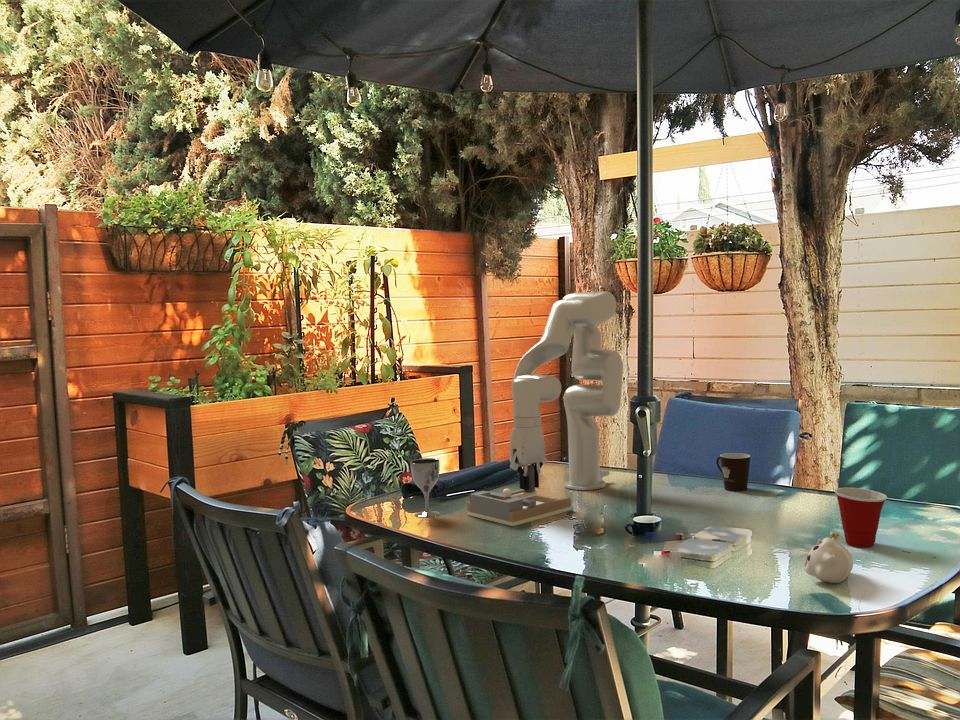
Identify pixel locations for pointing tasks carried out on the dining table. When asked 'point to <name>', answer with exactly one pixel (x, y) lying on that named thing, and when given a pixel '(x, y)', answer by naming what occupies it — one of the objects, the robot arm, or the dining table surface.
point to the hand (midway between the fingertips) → (529, 487)
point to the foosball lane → (514, 508)
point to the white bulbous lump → (829, 560)
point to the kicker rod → (526, 493)
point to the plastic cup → (860, 514)
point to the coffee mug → (734, 471)
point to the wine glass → (425, 480)
